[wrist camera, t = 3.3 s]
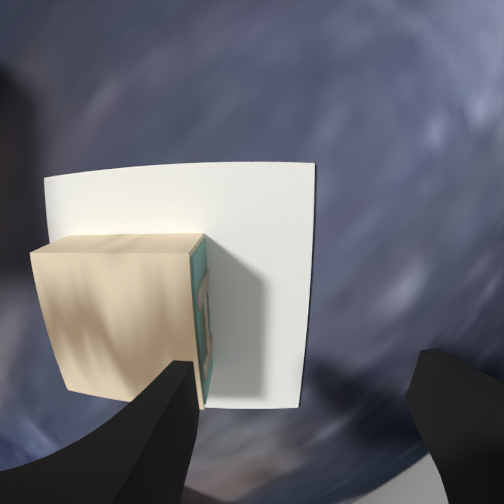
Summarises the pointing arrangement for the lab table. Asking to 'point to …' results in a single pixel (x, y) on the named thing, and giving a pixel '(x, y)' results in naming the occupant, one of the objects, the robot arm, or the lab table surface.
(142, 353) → the beech block
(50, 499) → the robot arm
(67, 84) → the lab table surface
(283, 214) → the mat
